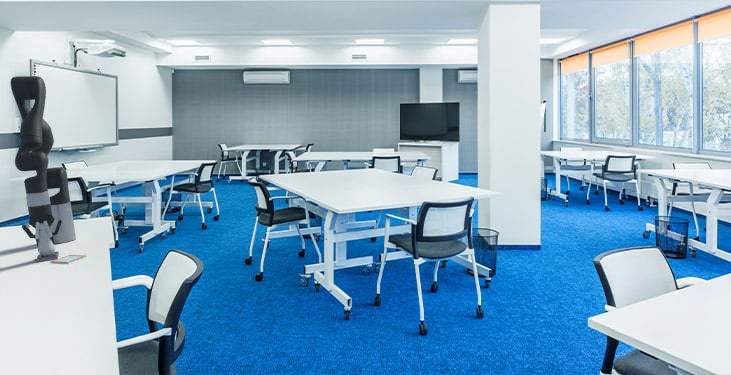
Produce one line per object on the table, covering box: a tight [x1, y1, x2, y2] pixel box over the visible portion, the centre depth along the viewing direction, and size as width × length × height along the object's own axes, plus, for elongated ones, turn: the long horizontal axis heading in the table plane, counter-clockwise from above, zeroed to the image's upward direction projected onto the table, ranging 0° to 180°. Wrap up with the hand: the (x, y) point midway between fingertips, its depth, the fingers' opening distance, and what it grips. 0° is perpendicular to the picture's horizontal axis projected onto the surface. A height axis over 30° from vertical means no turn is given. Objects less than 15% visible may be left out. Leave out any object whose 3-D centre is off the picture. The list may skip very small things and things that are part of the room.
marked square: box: [50, 254, 87, 264], centre depth 191 cm, size 8×8×1 cm
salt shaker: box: [37, 223, 56, 256], centre depth 193 cm, size 6×6×13 cm
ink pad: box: [35, 251, 60, 263], centre depth 194 cm, size 7×7×2 cm
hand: (46, 246), depth 193 cm, fingers closed on salt shaker, 3 cm apart
